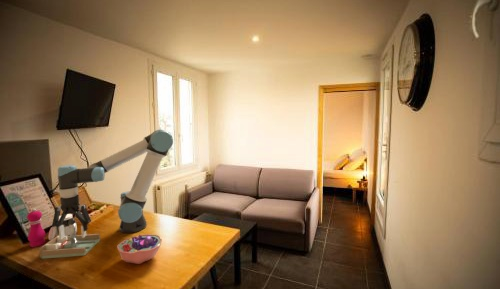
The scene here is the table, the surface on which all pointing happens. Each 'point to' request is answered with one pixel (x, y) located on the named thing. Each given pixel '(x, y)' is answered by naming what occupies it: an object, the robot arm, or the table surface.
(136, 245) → the cell model
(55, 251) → the beige tray
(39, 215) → the pepper mill
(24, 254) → the table surface
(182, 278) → the table surface
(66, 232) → the spread jar
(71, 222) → the kicker rod
